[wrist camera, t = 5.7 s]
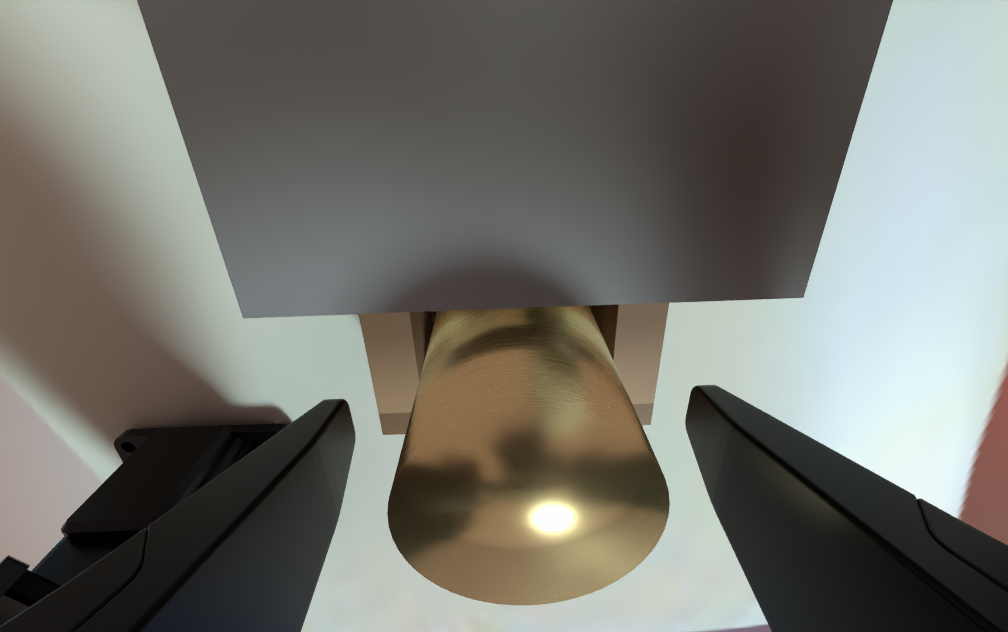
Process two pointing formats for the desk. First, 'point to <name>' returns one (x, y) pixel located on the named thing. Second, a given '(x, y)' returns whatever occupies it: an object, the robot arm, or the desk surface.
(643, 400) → the socket block
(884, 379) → the desk surface
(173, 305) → the desk surface
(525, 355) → the peg
